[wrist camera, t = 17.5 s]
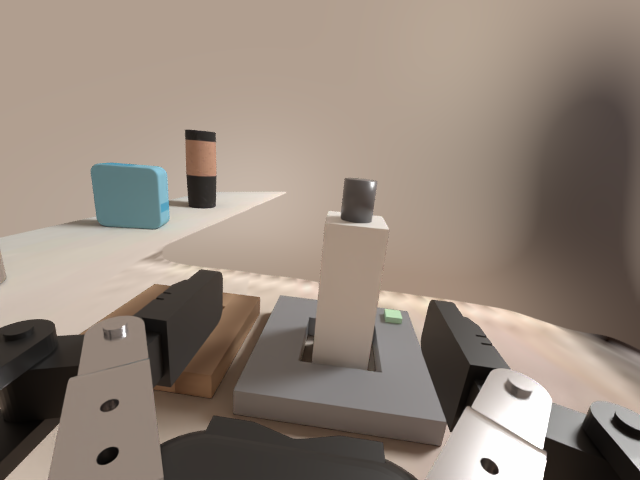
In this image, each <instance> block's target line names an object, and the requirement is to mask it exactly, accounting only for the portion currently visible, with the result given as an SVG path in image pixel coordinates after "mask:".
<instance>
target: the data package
mask: <svg viewBox="0 0 640 480" xmlns="http://www.w3.org/2000/svg"><path fill="white" fill-rule="evenodd" d="M91 177H92V185H93V193H94V201H95V208H96V217H97V220H98V222H99V223H100V224H101V225H103V226H108V227H125V228H142V229H157V228H159V227H161V226H162V225H164V224H166V223H167V222H168V221H169V200H168V183H167V173H166V171H165V170H164V169H163V168H161V167H158V166H146V165H134V164H120V163H102V164H95V165H94V166H93V167H92V168H91Z"/></svg>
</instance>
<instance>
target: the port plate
mask: <svg viewBox="0 0 640 480" xmlns="http://www.w3.org/2000/svg"><path fill="white" fill-rule="evenodd" d="M317 302H318V300H313V299H305V298H297V297H289V296H281V295H280V297H279V299H278V301H277V303H276V305H275V307H274V309H273V311H272V313H271V315H270V317H269V319H268V321H267V323H266V325H265V327H264V329H263V331H262V333H261V335H260V337H259V339H258V341H257V344H256V346H255V348H254V350H253V352H252V354H251V356H250V358H249V360H248V362H247V364H246V366H245V368H244V370H243V372H242V374H241V376H240V378H239V380H238V382H237V384H236V386H235V388H234V390H233V414H237V415H244V416H250V417H256V418H263V419H269V420H276V421H282V422H289V423H295V424H302V425H308V426H315V427H321V428H328V429H334V430H341V431H347V432H353V433H360V434H366V435H373V436H379V437H386V438H392V439H399V440H405V441H412V442H418V443H425V444H431V445H438V446H441V444H442V440H443V436H444V433H445V429H446V425H447V422H446V419H445V416H444V413H443V411H442V408H441V405H440V402H439V399H438V397H437V394H436V391H435V388H434V385H433V383H432V380H431V377H430V374H429V371H428V369H427V366H426V363H425V360H424V357H423V355H422V351H421V348H420V345H419V342H418V340H417V337H416V334H415V331H414V328H413V326H412V323H411V320H410V317H409V315H408V312H407V311H401V310H393V309H385V308H377V312H376V318H375V325H374V331H373V337H372V344H373V352H374V361H375V369H376V372H374V371H367V370H360V369H353V368H345V367H338V366H331V365H324V364H317V363H310V362H303V361H302V356H303V352H304V348H305V344H306V339H307V335H313V336H314V334H315V324H316V313H317Z"/></svg>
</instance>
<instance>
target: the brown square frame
mask: <svg viewBox="0 0 640 480" xmlns="http://www.w3.org/2000/svg"><path fill="white" fill-rule="evenodd" d="M169 287H170V286H167V285H159V284H154V285H153V286H151V287H150V288H148V289H147V290H145V291H144V292H142V293H141V294H139V295H138V296H136V297H135V298H133V299H132V300H130V301H129V302H127V303H126V304H124V305H123V306H121V307H120V308H118V309H117V310H115V311H114V312H112V313H111V314H109V315H108V316H106V317H105V318H103V319H102V320H100V321H103V320H105V319H109V318H112V317H117V316H133V315H134V314H135V313H137V312H138V311H139V310H141V309H142V308H143V307H144V306H146V305H147V304H148V303H150V302H151V301H152V300H154V299H156V297H157V296H159V295H160V294H161V293H163V292H164V291H165V290H166V289H168V288H169ZM259 314H260V297H254V296H246V295H238V294H230V293H223V310H222V315H221V319H220V321H219V323H218V325H217V326H216V327H215V329H214V330H213V332H212V333H211V334H210V336H209V337H208V338H207V340H206V341H205V342H204V344H203V345H202V346H201V348H200V349H199V350H198V352H197V353H196V354H195V356H194V357H193V358H192V360H191V361H190V363H189V364H188V365H187V367H186V368H185V369H184V371H183V372H182V373H181V375H180V376H179V377H178V379H177V380H176V381H175V383H174V384H173V385H172V387H164V386H158V385H156V386H155V387H154V388H153V389H154V390H160V391H167V392H174V393H180V394H187V395H193V396H200V397H206V398H212V397H213V395H214V393H215V391H216V390H217V388H218V386H219V384H220V383H221V381H222V379H223V377H224V375H225V374H226V372H227V370H228V368H229V367H230V365H231V363H232V361H233V360H234V358H235V356H236V354H237V353H238V351H239V349H240V347H241V346H242V344H243V342H244V340H245V338H246V337H247V335H248V333H249V331H250V330H251V328H252V326H253V324H254V323H255V321H256V319H257V317H258V316H259ZM100 321H99V322H100ZM97 323H98V322H97ZM88 329H89V328H88ZM88 329H87V330H88ZM87 330H85V331H84V332H82V333H81V334H79V335H83V334H85V333H86V331H87Z"/></svg>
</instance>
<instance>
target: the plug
mask: <svg viewBox="0 0 640 480" xmlns="http://www.w3.org/2000/svg"><path fill="white" fill-rule="evenodd" d="M376 187H377V181H374V180H367V179H358V178H345V181H344V190H343V199H342V209H341V212H333V211H329V212H328V215H327V218H326V222H325V228H324V239H323V249H322V260H321V270H320V281H319V292H318V302H317V313H316V324H315V334H314V345H313V355H312V363H317V364H324V365H331V366H338V367H345V368H353V369H360V370H367V369H368V362H369V356H370V350H371V344H372V337H373V331H374V325H375V318H376V312H377V306H378V299H379V293H380V286H381V280H382V274H383V267H384V261H385V255H386V248H387V242H388V236H389V228H388V226H387V224H386V223H385V221H384V219H383V217H382V216H373V209H374V201H375V195H376Z"/></svg>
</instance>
